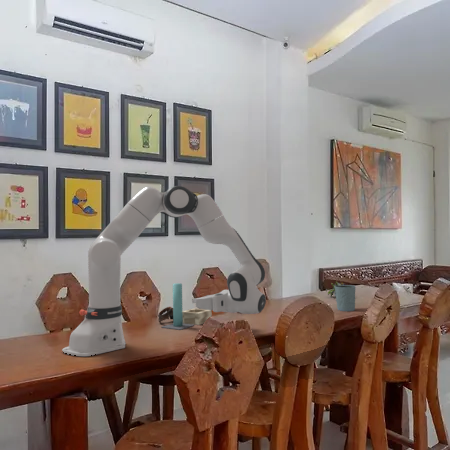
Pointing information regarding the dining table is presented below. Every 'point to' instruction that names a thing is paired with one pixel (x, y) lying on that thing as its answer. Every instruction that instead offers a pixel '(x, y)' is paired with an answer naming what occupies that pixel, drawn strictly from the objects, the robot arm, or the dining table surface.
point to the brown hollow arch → (165, 316)
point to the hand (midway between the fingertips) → (199, 298)
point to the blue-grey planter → (345, 297)
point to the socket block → (196, 316)
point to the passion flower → (334, 288)
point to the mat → (177, 327)
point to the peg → (177, 305)
